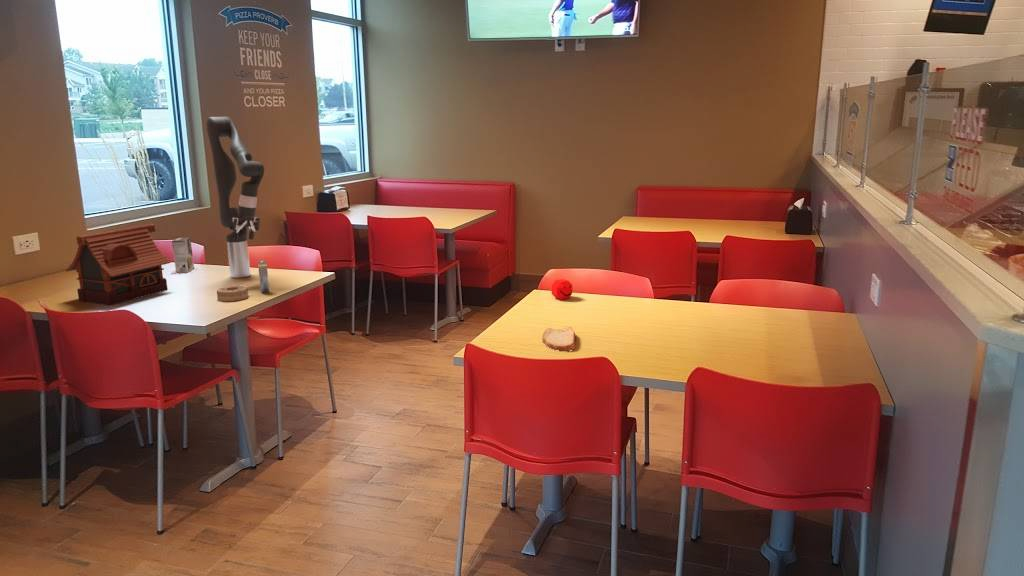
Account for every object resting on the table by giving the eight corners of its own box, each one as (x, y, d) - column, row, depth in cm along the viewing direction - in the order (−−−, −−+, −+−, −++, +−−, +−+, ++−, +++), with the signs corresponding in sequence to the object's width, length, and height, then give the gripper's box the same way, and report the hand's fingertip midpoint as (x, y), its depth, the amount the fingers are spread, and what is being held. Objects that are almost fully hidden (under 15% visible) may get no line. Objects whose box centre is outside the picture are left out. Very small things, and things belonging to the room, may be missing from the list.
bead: (214, 297, 312) (213, 288, 311) (242, 292, 320) (241, 283, 319) (223, 302, 303) (222, 293, 302) (252, 297, 311) (251, 288, 310)
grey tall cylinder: (259, 292, 320) (256, 261, 317) (267, 290, 322) (264, 260, 319) (262, 293, 317) (259, 262, 314) (270, 292, 320) (267, 261, 316)
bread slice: (567, 354, 237) (567, 343, 236) (525, 343, 248) (525, 332, 248) (598, 341, 250) (599, 330, 249) (557, 331, 261) (557, 321, 260)
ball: (559, 301, 299) (559, 283, 297) (548, 297, 306) (548, 279, 304) (575, 298, 303) (575, 281, 301) (564, 294, 310) (564, 277, 308)
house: (112, 308, 298) (102, 238, 290) (67, 301, 309) (55, 234, 302) (182, 288, 328) (174, 225, 321) (138, 283, 340) (129, 221, 333)
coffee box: (181, 268, 369) (177, 237, 365) (194, 268, 370) (190, 237, 366) (175, 272, 360) (171, 240, 356) (188, 272, 361) (185, 240, 357)
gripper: (254, 203, 336) (250, 236, 340) (228, 203, 324) (224, 238, 328) (265, 207, 333) (261, 241, 336) (240, 207, 320) (235, 242, 324)
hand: (243, 239), depth 332 cm, fingers open, 8 cm apart
